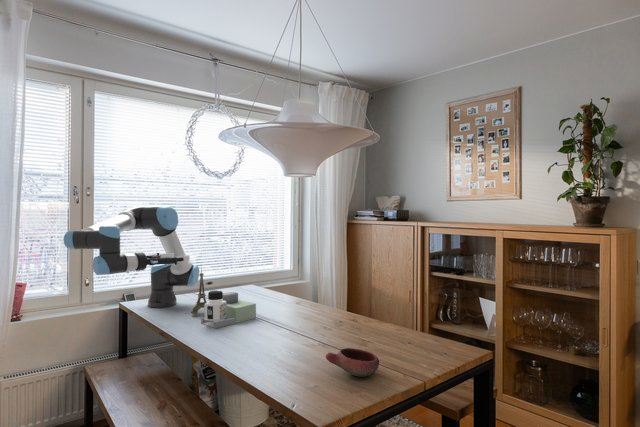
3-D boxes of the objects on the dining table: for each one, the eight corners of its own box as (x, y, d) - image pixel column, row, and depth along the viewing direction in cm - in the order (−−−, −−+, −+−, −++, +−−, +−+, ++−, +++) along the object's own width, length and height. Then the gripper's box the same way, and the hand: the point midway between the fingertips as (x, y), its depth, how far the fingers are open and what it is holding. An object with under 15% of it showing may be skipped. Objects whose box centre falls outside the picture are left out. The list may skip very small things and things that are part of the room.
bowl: (357, 363, 143) (357, 341, 143) (386, 375, 134) (386, 350, 133) (323, 377, 132) (323, 352, 132) (352, 390, 123) (352, 363, 123)
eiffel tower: (213, 315, 209) (213, 266, 208) (191, 317, 205) (191, 267, 205) (211, 310, 219) (211, 263, 218) (190, 312, 215) (190, 264, 215)
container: (219, 321, 188) (219, 292, 188) (204, 320, 190) (203, 292, 190) (226, 316, 196) (226, 289, 196) (211, 316, 198) (211, 289, 197)
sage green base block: (192, 320, 200) (192, 297, 199) (231, 311, 217) (231, 290, 216) (216, 328, 186) (215, 304, 186) (256, 317, 203) (256, 295, 203)
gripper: (122, 268, 181) (167, 262, 197) (148, 274, 165) (195, 267, 180) (122, 251, 181) (167, 247, 197) (148, 255, 164) (195, 250, 180)
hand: (181, 257), depth 189 cm, fingers open, 13 cm apart
